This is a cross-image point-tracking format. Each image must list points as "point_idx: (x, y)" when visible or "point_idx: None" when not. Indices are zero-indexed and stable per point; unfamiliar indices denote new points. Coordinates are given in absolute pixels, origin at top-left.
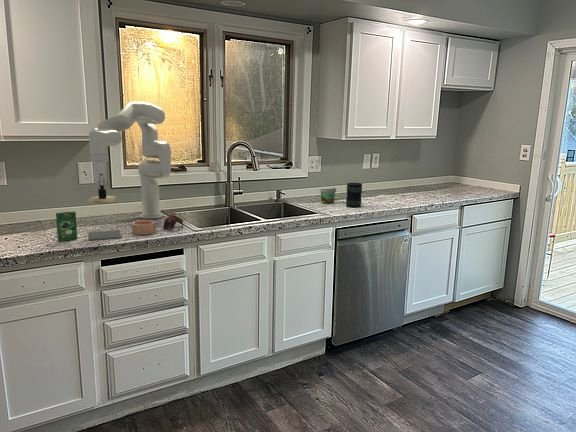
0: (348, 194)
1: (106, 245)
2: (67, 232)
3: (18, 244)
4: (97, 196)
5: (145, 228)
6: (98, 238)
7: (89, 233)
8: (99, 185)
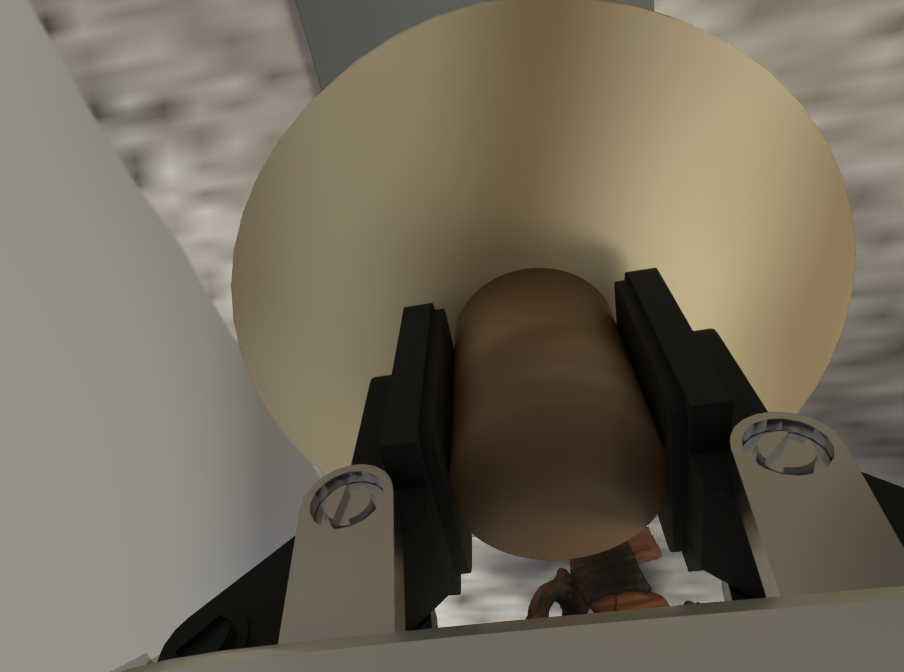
0: None
1: (135, 183)
2: None
3: None
4: (812, 196)
5: None
6: (330, 77)
7: None
8: (294, 632)
